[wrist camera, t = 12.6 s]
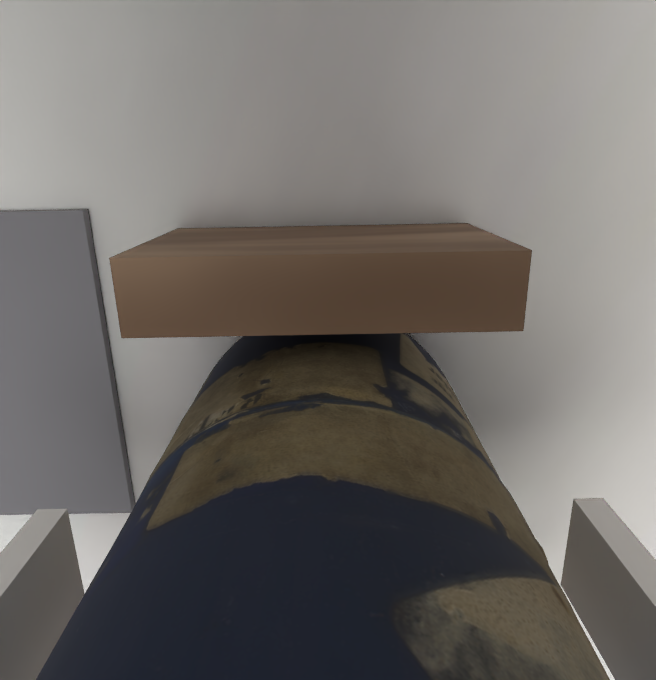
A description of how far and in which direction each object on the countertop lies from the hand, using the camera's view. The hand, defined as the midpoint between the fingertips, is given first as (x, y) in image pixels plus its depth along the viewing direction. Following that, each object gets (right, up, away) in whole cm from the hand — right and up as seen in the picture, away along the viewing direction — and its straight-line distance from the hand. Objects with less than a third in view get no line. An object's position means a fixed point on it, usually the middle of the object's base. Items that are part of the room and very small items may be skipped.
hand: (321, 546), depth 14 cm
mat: (-14, +4, +6) cm, 16 cm away
